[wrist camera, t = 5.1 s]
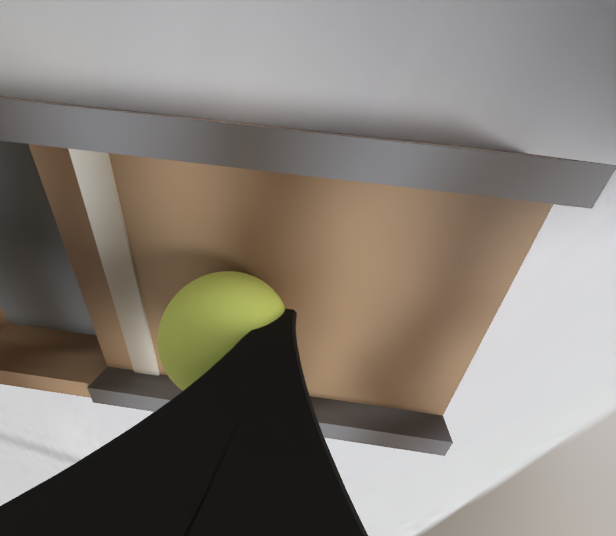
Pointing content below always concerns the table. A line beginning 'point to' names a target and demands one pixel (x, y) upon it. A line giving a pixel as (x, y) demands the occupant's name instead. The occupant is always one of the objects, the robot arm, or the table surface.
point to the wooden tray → (263, 253)
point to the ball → (212, 321)
